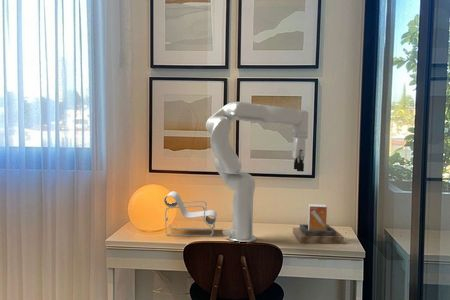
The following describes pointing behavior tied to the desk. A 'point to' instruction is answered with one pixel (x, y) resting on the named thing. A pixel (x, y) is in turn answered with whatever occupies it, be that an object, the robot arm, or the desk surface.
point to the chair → (190, 213)
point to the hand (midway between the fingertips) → (298, 170)
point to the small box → (317, 217)
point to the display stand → (317, 235)
